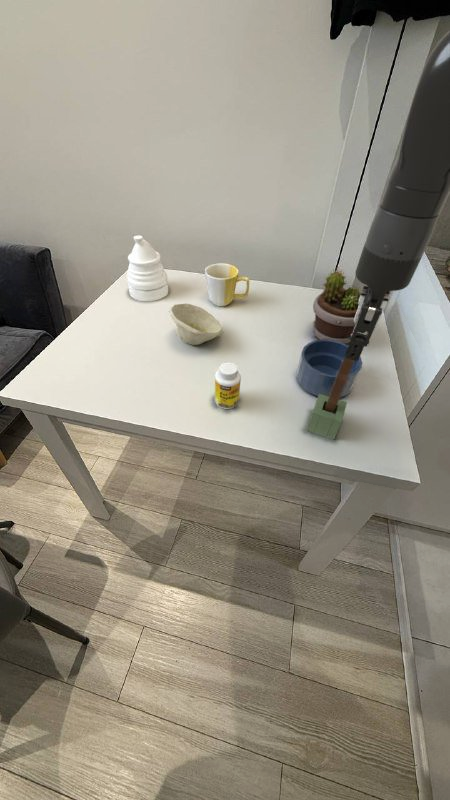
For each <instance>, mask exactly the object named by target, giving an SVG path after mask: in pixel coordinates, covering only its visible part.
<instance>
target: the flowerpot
mask: <svg viewBox="0 0 450 800" xmlns="http://www.w3.org/2000/svg"><path fill="white" fill-rule="evenodd" d="M332 270H333V271H331V272H329V273H328V275H325V277H324V280H326V281H324V282H323V284H321V285H322V287H324V288H323V291H321V293H320V294H318V295H317V296H316V297H315V299H314V301H313V305H312V311H313V312H314V319H315V320H314V321H313V324H312V331H313V332H312V333H313V335H314V337H315V338H316V340H334V341H337V342H341V343H343V344H346V345H348V344H349V343H350V336H351V333H353V327H354V323H353V320H354V317H355V314H356V311H357V309H358V301H359V298H360V294H361V291H360V286H357V284H353V285H352V284H351V285H349V286H348V287H347V286H346V285H348V281H347V280H346V281H345V279H346V278H347V277H349V276H347V275H345V272H343V271H342V269H340V270H339V268H338V266H336V269H332ZM344 287H345V288H344ZM346 288H347V289H346Z"/></svg>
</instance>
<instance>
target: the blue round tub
mask: <svg viewBox="0 0 450 800" xmlns="http://www.w3.org/2000/svg"><path fill="white" fill-rule="evenodd" d="M348 345H349V344H343V343H341V342H337V341H334V340H318V339H315V340H313V341H311V342H310V341H309V342H308V343H307V344H305V345H304V346H303V348H302V350H301V353H300V357H299V360H298V364H297V369H296V372H295V373H296V380H297V382H298V384H299V385H300V386H301V388H302V389H304V390H305V391H306V392H308V393H310V394H312V395H313V396H316V397H318V396H319V394H322V395H325V396H328V397H329V396H330V393H331V390H332V388H333V385H334V382H335V380H336V377H337V374H338V372H339V369H340V367H341V364H342V361H343V359H344V356H345V353H346V350H347V348H348ZM362 360H363V359H362V357H361V356H360V357H359V360H357V361H354V363H353V366H352V368H351V371H350V373H349V376H348V378H347V380H346V383H345V385H344V388H343V390H342V393H341V395H340V397H339V399H340V398H343V397H345V396H347V395H349V394H350V393H351V391H353V388H354V386H355V384H356V381H357V379H358V378H359V377H358V376H359V375H360V372H361V370H362V366H363V361H362Z"/></svg>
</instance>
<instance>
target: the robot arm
mask: <svg viewBox="0 0 450 800" xmlns="http://www.w3.org/2000/svg"><path fill="white" fill-rule="evenodd" d="M418 78H419V79H418V81H417V84H416V88H415V91H414V94H413V98H412V101H411V104H410V108H409V111H408V114H407V118H406V123H405V126H404V131H403V134H402V137H401V143H400V147H399V151H398V154H397V157H396V159H395V162H394V164H393V167H392V169H391V171H390V174H389V176H388V180H387V183H386V186H385V189H384V192H383V194H382V196H381V197H382V198H381V201H380V203H379V205H378V208H377V211H376V213H375V215H374V216H373V219H372V222H371V224H370V226H369V230H368V233H367V235H366V239H365V242H364V245H363V247H362V250H361V252H360V253H361V254H360V257H359V260H358V263H357V265H356V268H355V277H356V279H357V280H358V281H359V282H360V283H361V284H363V286H362V288H361V290H360V298H359V301H358V309H357V311H356V314H355V317H354V320H353V323H354V327H353V333H351V336H350V342H348V344H347V345H348V348H347V350H346V353H345V358H347V359H350V360H354V361H357V360H359V357H361V355H362V353H363V350H364V348H365V347H367V346H368V345H370V340H371V337H372V335H373V333H374V331H375V329H376V328H377V327H378V325H379V322H380V319H381V317H382V314H383V311H384V310H385V309H387V305H388V303H389V300H390V298H389V296H390V294H391V292H397V291H401V290H404V289H406V288H407V287H408V286H409V285H410V283H411V281H412V279H413V277H414V275H415V273H416V271H417V268H418V267H419V265H420V262H421V260H422V258H423V257H424V254H425V251H426V250H427V247H428V244H429V243H430V241H431V239H432V236H433V235H434V231H435V228H436V225H437V222H438V219H439V217H440V214H441V212H442V211H443V208H444V206H445V203H446V202H447V199H448V197H449V195H450V30H449V31H447V32H446V33H445V34H444V36H442V38H440V39H439V41H438V42H437V43H436V44H435V46H434V48H433V49H432V51H431V52H430V54H429V55H428V57H427V59H426V61H425V63H424V65H423V67H422V70H421V72H420V76H419V77H418ZM365 333H366V334H365Z"/></svg>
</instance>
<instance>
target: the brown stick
mask: <svg viewBox="0 0 450 800" xmlns="http://www.w3.org/2000/svg"><path fill="white" fill-rule="evenodd" d="M353 363H354V360H350V359H347V358H345V356H344V359H343V361H342V364H341V367H340V369H339V372H338V374H337V377H336V380H335V382H334V385H333V388H332V390H331V393H330V396H329V398H328V401H327V404H326V406H325V409H324V410H325V411H328V412H331V413H333V412H334V410H335V407H336V405H337V402H338V400H340V398H341V397H340V395H341V393H342V390H343V388H344V385H345V383H346V380H347V378H348V376H349V373H350V371H351V368H352V366H353ZM339 397H340V398H339Z"/></svg>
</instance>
